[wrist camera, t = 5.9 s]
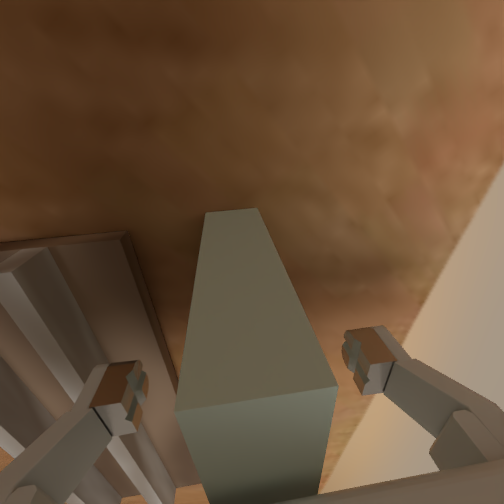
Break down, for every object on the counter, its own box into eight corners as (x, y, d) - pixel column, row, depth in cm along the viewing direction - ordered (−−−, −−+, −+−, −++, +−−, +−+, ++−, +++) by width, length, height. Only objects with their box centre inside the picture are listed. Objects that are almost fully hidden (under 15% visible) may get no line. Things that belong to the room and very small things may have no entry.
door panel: (226, 342, 16) (232, 563, 8) (205, 212, 11) (173, 411, 3) (263, 337, 16) (306, 547, 8) (257, 207, 12) (338, 385, 4)
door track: (82, 491, 23) (64, 539, 20) (-158, 258, 10) (-287, 303, 8) (207, 469, 24) (206, 511, 21) (127, 230, 11) (99, 262, 9)
